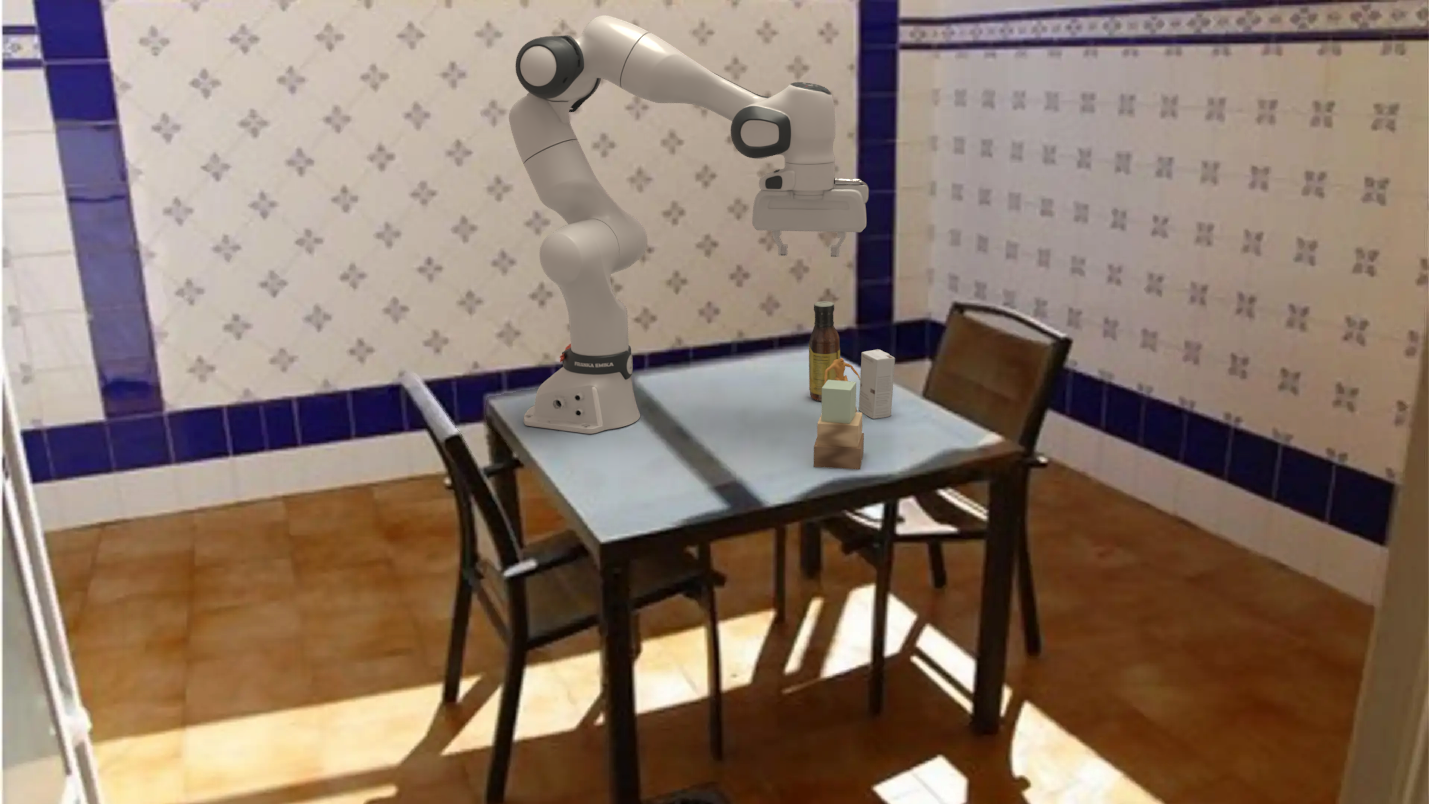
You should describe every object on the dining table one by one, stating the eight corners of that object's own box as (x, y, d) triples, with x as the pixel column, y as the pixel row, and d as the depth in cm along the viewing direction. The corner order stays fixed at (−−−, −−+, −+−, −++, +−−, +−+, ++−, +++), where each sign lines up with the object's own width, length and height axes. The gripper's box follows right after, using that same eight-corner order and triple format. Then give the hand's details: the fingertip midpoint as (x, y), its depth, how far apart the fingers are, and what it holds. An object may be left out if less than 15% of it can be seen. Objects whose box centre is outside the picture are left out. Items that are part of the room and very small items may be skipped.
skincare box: (857, 410, 233) (858, 351, 230) (877, 407, 235) (879, 348, 231) (873, 419, 228) (875, 359, 224) (893, 416, 230) (895, 356, 226)
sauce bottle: (822, 391, 245) (823, 297, 239) (846, 397, 241) (848, 302, 235) (802, 398, 241) (802, 303, 235) (826, 405, 237) (827, 308, 231)
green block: (821, 421, 205) (821, 388, 203) (827, 412, 209) (827, 379, 207) (850, 423, 203) (850, 390, 201) (855, 414, 208) (856, 381, 206)
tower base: (813, 468, 206) (813, 446, 204) (818, 451, 213) (818, 430, 212) (860, 470, 204) (860, 448, 203) (863, 454, 212) (863, 433, 210)
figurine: (834, 426, 225) (835, 366, 221) (816, 418, 230) (816, 358, 226) (869, 419, 229) (871, 359, 225) (850, 410, 234) (852, 351, 230)
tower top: (817, 445, 205) (817, 423, 204) (822, 431, 211) (822, 410, 210) (857, 447, 203) (858, 425, 202) (862, 434, 210) (862, 412, 209)
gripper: (870, 176, 210) (868, 253, 214) (756, 175, 214) (756, 251, 218) (867, 181, 204) (865, 260, 208) (750, 179, 208) (750, 257, 212)
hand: (809, 255), depth 213 cm, fingers open, 8 cm apart
